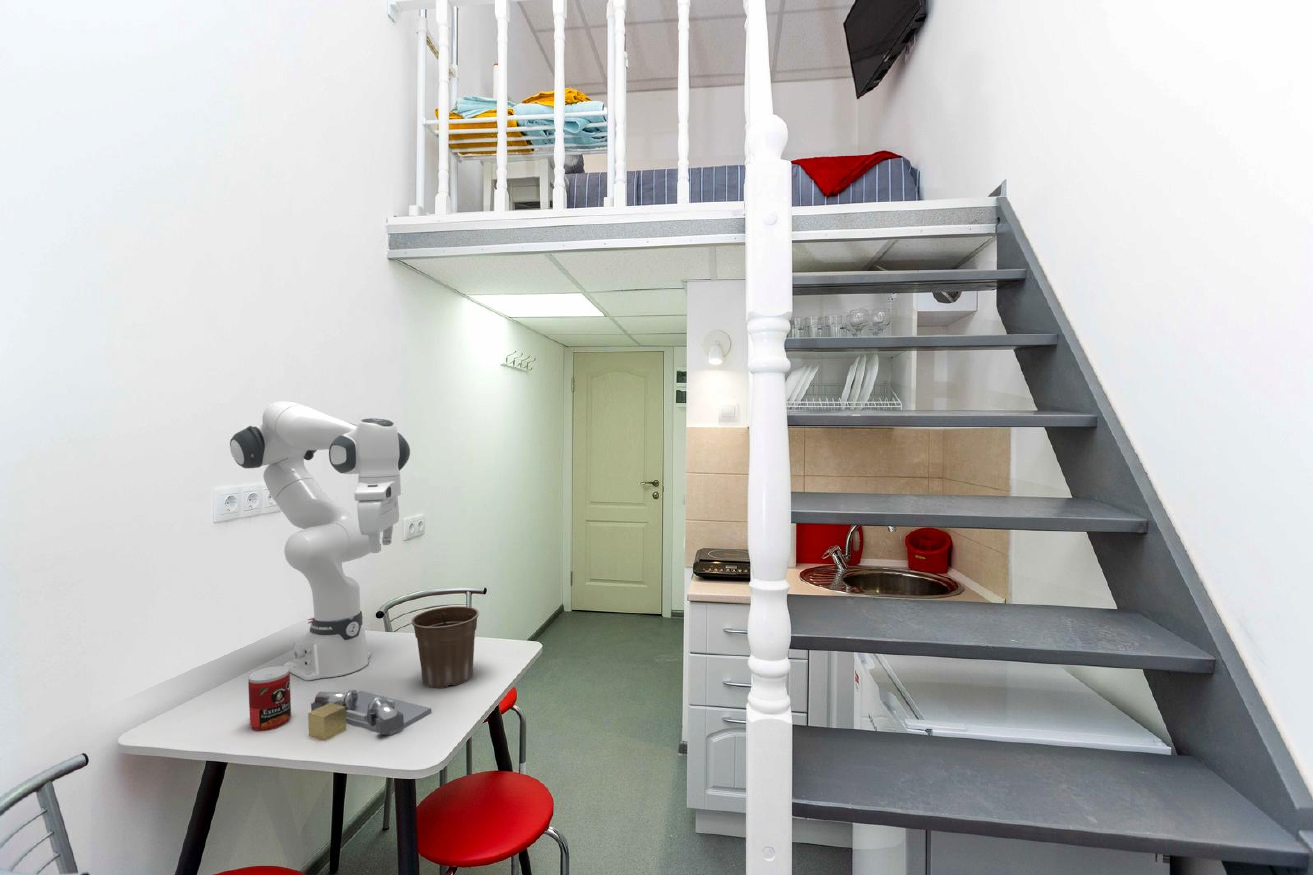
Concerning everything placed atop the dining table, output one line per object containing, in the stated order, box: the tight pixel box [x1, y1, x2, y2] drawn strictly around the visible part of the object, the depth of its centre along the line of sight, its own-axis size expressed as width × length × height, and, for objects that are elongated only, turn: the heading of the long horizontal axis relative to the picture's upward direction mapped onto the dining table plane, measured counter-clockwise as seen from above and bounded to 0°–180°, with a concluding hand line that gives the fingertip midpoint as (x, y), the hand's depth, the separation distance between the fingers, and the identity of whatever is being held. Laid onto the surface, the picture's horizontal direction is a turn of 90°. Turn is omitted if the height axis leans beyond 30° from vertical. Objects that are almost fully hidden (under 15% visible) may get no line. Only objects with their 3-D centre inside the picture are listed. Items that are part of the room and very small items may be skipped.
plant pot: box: [411, 605, 480, 689], centre depth 155 cm, size 16×16×16 cm
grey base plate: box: [346, 690, 432, 736], centre depth 136 cm, size 23×11×2 cm, turn 64°
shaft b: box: [367, 695, 404, 735], centre depth 130 cm, size 8×5×4 cm, turn 44°
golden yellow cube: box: [307, 703, 347, 742], centre depth 128 cm, size 5×5×5 cm
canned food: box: [247, 665, 292, 732], centre depth 133 cm, size 8×8×11 cm
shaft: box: [310, 689, 358, 712], centre depth 136 cm, size 8×5×4 cm, turn 84°
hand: (381, 548), depth 141 cm, fingers open, 8 cm apart
